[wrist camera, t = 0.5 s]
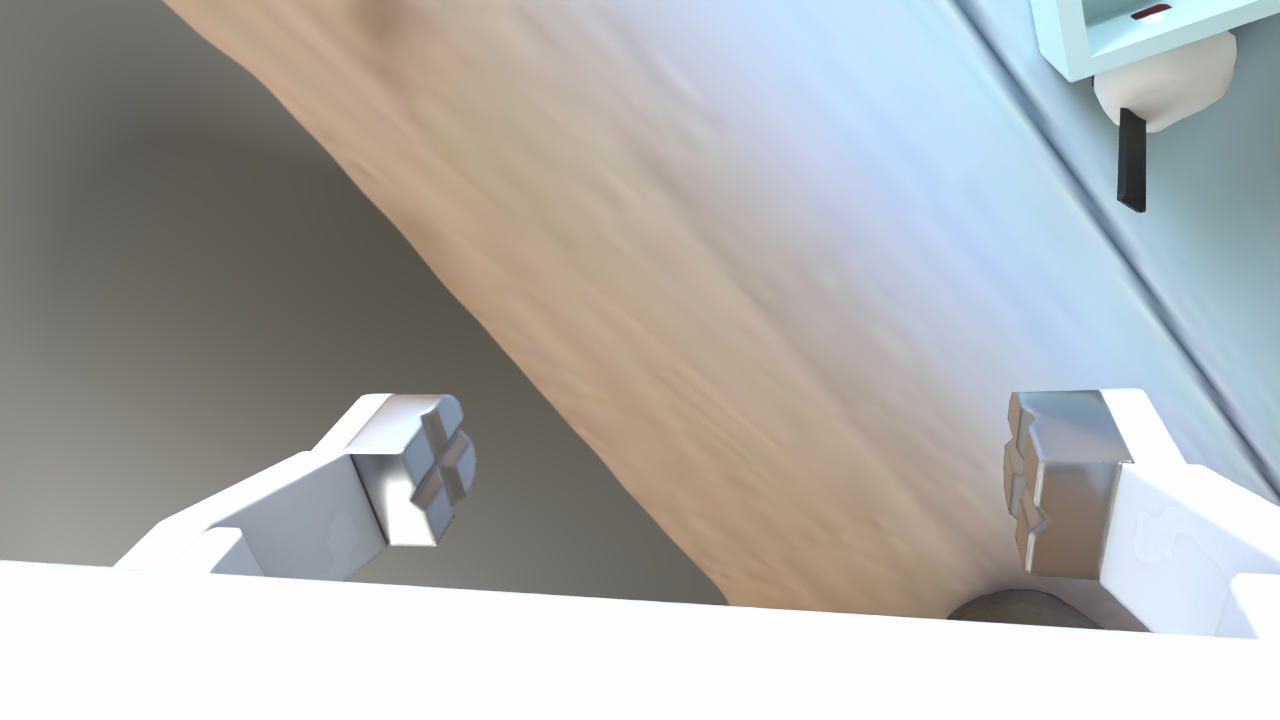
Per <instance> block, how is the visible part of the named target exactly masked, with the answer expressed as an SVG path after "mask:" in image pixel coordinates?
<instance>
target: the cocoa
mask: <svg viewBox="0 0 1280 720" xmlns="http://www.w3.org/2000/svg"><path fill="white" fill-rule="evenodd" d="M1170 8H1173V7H1171V6H1170V5H1168V4H1157V5H1154V6H1152V7H1149V8H1147V9H1144V10H1142V11H1139V12H1137V13H1134V14H1132V15H1131V18H1133V19H1134V20H1138V19H1141V18H1144V17H1146V18H1144V19H1143V20H1142V21H1141V22H1142V23H1148V24H1150V23H1155V22H1158V21H1160V20H1162V19H1164V18H1165V17H1163V16H1162V15H1163V14H1165V13H1166V12H1162V13H1158V12H1161V11H1164V10H1167V9H1170ZM1155 13H1157V14H1155ZM1236 57H1237V47H1236V37H1235V36H1234V35H1233V34H1232V33H1230V32H1229V31H1228V30H1226V31H1223V32H1220V33H1217V34H1214V35H1211V36H1208V37H1205V38H1203V39H1200V40H1197V41H1194V42H1191V43H1188V44H1185V45H1182V46H1179V47H1176V48H1173V49H1170V50H1167V51H1164V52H1161V53H1158V54H1155V55H1152V56H1149V57H1146V58H1143V59H1140V60H1137V61H1134V62H1131V63H1128V64H1125V65H1122V66H1119V67H1116V68H1113V69H1111V70H1108V71H1105V72H1102V73H1099V74H1096V75H1093V76H1092V86H1093V88H1094V91H1095V93H1096V96H1097V98H1098V100H1099V102H1100V104H1101V106H1102V108H1103V110H1104V111H1105V113H1106V114H1107V115H1108V116H1109V117H1110V119H1111V120H1112V121H1113V122H1114V123H1115V125H1118V126H1120V128H1119V158H1118V189H1117V200H1118V201H1120V202H1121V203H1123V204H1125V205H1126V206H1128V207H1129V208H1131V209H1133V210H1134V211H1136V212H1139V213H1142V212H1145V211H1146V132H1150V133H1158V132H1159V131H1161V130H1163V129H1165V128H1166V127H1168V126H1170V125H1171V124H1173V123H1175V122H1177V121H1178V120H1180V119H1183V118H1185V117H1187V116H1190V115H1192V114H1194V113H1197V112H1199V111H1201V110H1203V109H1205V108H1206V107H1208V106H1209V105H1211V104H1212V103H1214V102H1215V101H1217V100H1218V99H1220V98H1221V97H1223V96H1224V95H1225V93H1226V91H1227V89H1228V87H1229V85H1230V83H1231V81H1232V79H1233V77H1234V71H1233V68H1234V65H1235V61H1236Z"/></svg>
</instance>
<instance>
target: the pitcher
mask: <svg viewBox="0 0 1280 720" xmlns="http://www.w3.org/2000/svg"><path fill="white" fill-rule="evenodd" d="M946 620H957V621H973V622H989V623H1005V624H1021V625H1037V626H1052V627H1068V628H1083V629H1099V630H1105V629H1103V628H1102V627H1101V626H1099V625H1098V624H1096V623H1095V622H1094V621H1092V620H1091V619H1089V618H1088V617H1086V616H1084V615H1083V614H1081V613H1080V612H1079V611H1078V610H1076V609H1074V608H1073V607H1071V606H1070V605H1068V604H1067V603H1065V602H1063V601H1062V600H1060V599H1058V598H1057V597H1055V596H1053V595H1052V594H1047V593H1043V592H1039V591H1035V590H1007V591H1002V592H997V593H993V594H989V595H985V596H981V597H979V598H977V599H975V600H972V601H970V602H969V603H967V604H965V605H963V606H961V607H960V608H959V609H957V610H956V611H954V612H953V613H952V614H950V615H949V616H948V618H947V619H946Z"/></svg>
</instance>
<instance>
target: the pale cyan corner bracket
mask: <svg viewBox="0 0 1280 720" xmlns="http://www.w3.org/2000/svg"><path fill="white" fill-rule="evenodd" d="M1030 3H1031V8H1032V13H1033V19H1034V24H1035V29H1036V35H1037V40H1038V45H1039V50H1040V54H1041V55H1043V56H1044V57H1045V58H1046V59H1047V60H1048V61H1049V62H1050V63H1051V64H1052V65H1053V66H1054V67H1055V68H1056V69H1057V70H1058V71H1059V72H1060V73H1061V74H1062V75H1063V76H1064V77H1065V78H1066V79H1067V80H1068V81H1069V82H1070V83H1072V82H1075V81H1078V80H1081V79H1084V78H1087V77H1090V76H1093V75H1096V74H1099V73H1102V72H1105V71H1108V70H1111V69H1113V68H1116V67H1119V66H1122V65H1125V64H1128V63H1131V62H1134V61H1137V60H1140V59H1143V58H1146V57H1149V56H1152V55H1155V54H1158V53H1161V52H1164V51H1167V50H1170V49H1173V48H1176V47H1179V46H1182V45H1185V44H1188V43H1191V42H1194V41H1197V40H1200V39H1203V38H1205V37H1208V36H1211V35H1214V34H1217V33H1220V32H1223V31H1226V30H1229V29H1232V28H1235V27H1238V26H1241V25H1244V24H1247V23H1250V22H1253V21H1256V20H1259V19H1262V18H1265V17H1268V16H1271V15H1274V14H1277V13H1280V0H1030ZM1157 4H1168V5H1170V6H1171V7H1173V8H1170V9H1167V10H1164V11H1161V12H1158V13H1162V12H1166V13H1165V14H1163V15H1162V16H1163V17H1165V18H1164V19H1162V20H1160V21H1158V22H1155V23H1150V24H1148V23H1142V22H1141V21H1142V20H1143V19H1144V18H1146V17H1144V18H1141V19H1138V20H1134V19H1133V18H1131V15H1132V14H1134V13H1137V12H1139V11H1142V10H1144V9H1147V8H1149V7H1152V6H1154V5H1157ZM1155 14H1157V13H1155Z"/></svg>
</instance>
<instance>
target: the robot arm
mask: <svg viewBox="0 0 1280 720" xmlns="http://www.w3.org/2000/svg"><path fill="white" fill-rule="evenodd" d="M463 419H464V415H463V412H462V409H461V406H460V403H459V401H458V399H456V398H455V397H453V396H452V395H440V394H436V395H435V394H369V395H364V396H361V397H360V399H359V400H358V401H357V402H356V403H355V404H354V405H353V406H352V407H351V408H350V409H349V410H348V412H347V413H346V414H345V415H344V416H343V417H342V418H341V419H340V420H339V421H338V422H337V424H336V425H335V426H334V427H333V428H332V429H331V430H330V431H329V432H328V433H327V434H326V435H325V437H324V438H323V439H322V440H321V441H320V442H319V443H318V444H317V445H316V446H315V448H314V449H313V450H312V451H311V452H300V453H298V454H296V455H295V456H292V457H291V458H288V459H286V460H284V461H283V462H280V463H278V464H276V465H274V466H272V467H270V468H268V469H266V470H264V471H262V472H260V473H258V474H256V475H254V476H252V477H250V478H248V479H246V480H244V481H242V482H240V483H238V484H236V485H234V486H232V487H230V488H228V489H226V490H224V491H222V492H220V493H218V494H215V495H214V496H211V497H209V498H207V499H205V500H203V501H201V502H200V503H197V504H195V505H194V506H191V507H189V508H187V509H185V510H183V511H181V512H179V513H177V514H175V515H173V516H171V517H169V518H167V519H165V520H163V521H161V522H159V523H158V524H157V525H156V526H155V527H154V528H153V529H152V530H151V531H150V532H149V533H148V534H147V535H146V536H144V538H142V539H141V540H140V541H139V542H138V543H137V544H136V545H135V546H134V547H133V548H132V549H131V550H130V551H129V552H128V553H127V554H126V555H125V556H124V557H123V558H122V559H121V560H120V561H118V563H116V564H115V565H114V566H113V567H102V566H86V565H69V564H54V563H37V562H23V561H7V560H0V720H1280V507H1279V506H1277V505H1275V504H1273V503H1271V502H1269V501H1267V500H1266V499H1264V498H1262V497H1260V496H1258V495H1256V494H1255V493H1253V492H1251V491H1249V490H1247V489H1245V488H1243V487H1242V486H1240V485H1238V484H1236V483H1234V482H1232V481H1230V480H1229V479H1227V478H1225V477H1223V476H1221V475H1219V474H1217V473H1216V472H1214V471H1212V470H1210V469H1208V468H1206V467H1205V466H1203V465H1188V463H1187V462H1186V460H1185V458H1184V457H1183V455H1182V453H1181V452H1180V450H1179V448H1178V446H1177V445H1176V443H1175V441H1174V440H1173V438H1172V436H1171V435H1170V433H1169V431H1168V429H1167V428H1166V426H1165V424H1164V423H1163V421H1162V419H1161V418H1160V416H1159V414H1158V412H1157V411H1156V409H1155V407H1154V406H1153V404H1152V402H1151V401H1150V399H1149V397H1148V395H1147V394H1146V392H1145V391H1143V390H1141V389H1140V388H1127V389H1101V390H1082V391H1043V392H1012V395H1011V399H1010V403H1009V411H1008V421H1009V425H1010V428H1011V432H1012V435H1013V438H1012V439H1011V440H1010V441H1009V442H1008V443H1007V444H1006V445H1005V452H1004V490H1005V496H1006V502H1007V506H1008V510H1009V514H1010V515H1012V516H1013V517H1014V518H1016V519H1017V527H1016V536H1015V538H1016V542H1017V545H1018V549H1019V553H1020V557H1021V560H1022V564H1023V568H1024V572H1025V575H1036V576H1050V577H1064V578H1078V579H1091V580H1100V581H1099V583H1100V584H1101V585H1102V586H1103V587H1104V588H1105V589H1106V590H1107V591H1108V592H1109V593H1110V594H1111V595H1113V596H1114V597H1115V598H1116V599H1117V600H1118V601H1119V602H1120V603H1121V604H1122V605H1123V606H1124V607H1125V608H1126V609H1128V610H1129V611H1130V612H1131V613H1132V614H1133V615H1134V616H1135V617H1136V618H1137V619H1138V620H1139V621H1140V622H1141V623H1142V624H1144V625H1145V626H1146V627H1147V628H1148V629H1149V630H1150V631H1151V632H1152V633H1146V632H1130V631H1115V630H1099V629H1083V628H1068V627H1052V626H1037V625H1021V624H1005V623H989V622H973V621H957V620H941V619H925V618H910V617H894V616H878V615H862V614H846V613H830V612H814V611H798V610H782V609H766V608H750V607H734V606H719V605H718V606H717V605H703V604H687V603H686V604H685V603H671V602H654V601H640V600H623V599H608V598H592V597H576V596H575V597H574V596H560V595H545V594H529V593H513V592H497V591H481V590H465V589H450V588H433V587H418V586H403V585H385V584H371V583H354V582H345V581H346V580H347V579H348V578H350V577H351V576H352V575H354V574H355V573H356V572H357V571H359V570H360V569H361V568H363V567H364V566H365V565H366V564H368V563H369V562H370V561H372V560H373V559H374V558H375V557H377V556H378V555H379V554H381V553H382V552H383V551H384V550H386V549H387V548H388V547H387V545H394V546H398V545H399V546H437V545H438V544H439V542H440V540H441V539H442V536H443V535H444V534H445V532H446V530H447V529H448V527H449V525H450V524H451V522H452V520H453V518H454V517H455V516H454V513H453V510H452V506H453V505H455V504H456V503H458V502H459V501H461V500H463V499H464V498H466V497H467V495H468V493H469V491H470V489H471V488H472V485H473V483H474V478H475V473H476V468H477V465H476V453H475V450H474V446H473V443H472V440H471V439H470V438H469V437H468V436H467V435H466V434H465V433H464V432H462V431H461V430H460V429H459V428H460V426H461V424H462V421H463Z"/></svg>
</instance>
